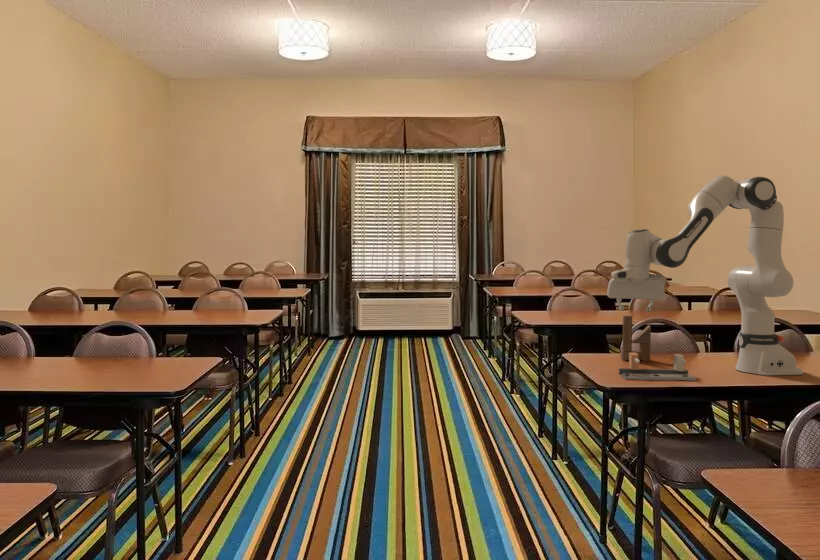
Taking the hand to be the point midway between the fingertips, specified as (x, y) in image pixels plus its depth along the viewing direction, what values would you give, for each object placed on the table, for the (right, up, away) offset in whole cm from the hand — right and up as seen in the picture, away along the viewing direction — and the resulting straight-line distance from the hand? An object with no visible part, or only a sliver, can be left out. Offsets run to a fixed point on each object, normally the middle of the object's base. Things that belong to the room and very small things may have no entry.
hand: (634, 311), depth 258 cm
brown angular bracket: (+9, -21, +26) cm, 34 cm away
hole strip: (+5, -24, -10) cm, 26 cm away
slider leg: (-1, -21, -4) cm, 21 cm away
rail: (+6, -23, -5) cm, 24 cm away
